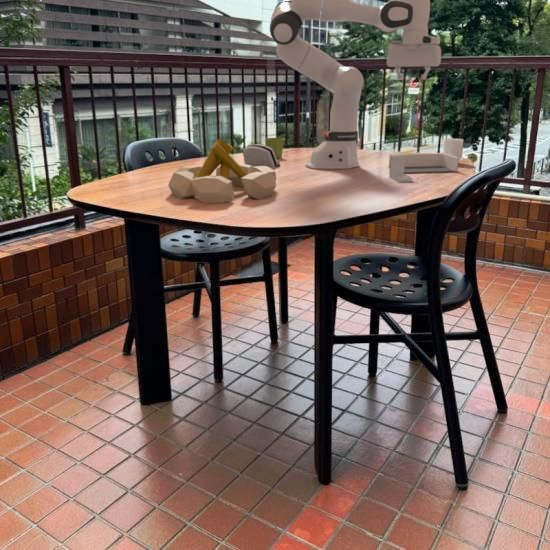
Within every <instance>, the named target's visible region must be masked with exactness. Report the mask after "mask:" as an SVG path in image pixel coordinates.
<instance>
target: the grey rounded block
mask: <svg viewBox="0 0 550 550" xmlns="http://www.w3.org/2000/svg"><path fill="white" fill-rule="evenodd" d="M242 155H243V161H244V162H243V163H244V164H247V165H251V166H267V167H270V168H275V167H281V163H280V161H278V158H276V155H275V153H274V150H273V149H272V148H270V147H268V146H267V145H264V144H261V143H257V144H255V143H254V144H251V145H248V146H246V147H245V148H243V149H242Z"/></svg>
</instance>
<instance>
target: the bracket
mask: <svg viewBox="0 0 550 550" xmlns="http://www.w3.org/2000/svg"><path fill="white" fill-rule="evenodd" d="M404 165H405V156H404V155H398V156H390V169H389V176H388V178H389V179H391V180H393V181H395V182H397V183H413V177H412V176H410V175H408V174H404Z"/></svg>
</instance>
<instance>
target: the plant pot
mask: <svg viewBox="0 0 550 550" xmlns="http://www.w3.org/2000/svg"><path fill="white" fill-rule="evenodd" d="M264 141H265V143H266V146H268V147H270V148H272V149H273V150H274V153H275V155H276V158H277V159H281V158H283V150H284V143H285V141H286V138H285V137H268V138H264Z"/></svg>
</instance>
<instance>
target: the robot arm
mask: <svg viewBox="0 0 550 550" xmlns="http://www.w3.org/2000/svg"><path fill="white" fill-rule="evenodd" d="M430 10H431V0H390V1H388V2H386V3H384V5H382V6H372V5H366V4H361V3H356V2H354V1H353V0H282V1H280V2H278V4H276V6H275V8H274V11H273V12H272V15H271V17H270V25H269V33H270V37H271V38H272V39H273V41H274V42H275V43H277V44H276V52H275V53H276V55H277V57H278V58H279V59H280V60H281V61H282V62H283V63H285V64H286V65H287V66H289V67H290V68H291V69H293V70H295V71H297V72H298V73H300V74H302V75H303V76H305V77H307V78H309V79H311V80H313V81H315V83H317V84H318V85H320V86H321V87H323V88H325V90H327V91H329V92H331V93H333V96H332V97H333V98H332V103H331V109H330V111H329V112H330V117H329V118H330V120H329V131H323V132H322V136H323V137H324V141H322V142H321V143H320V144H319V145H318V146H316V147H315V148H314V149H313V150H312V151H311V155H310V161H306V162H305V167H307V168H309V169H317V170H318V169H320V170H321V169H323V170H326V169H327V170H329V169H333V170H335V169H337V170H338V169H339V170H340V169H343V170H344V169H345V170H346V169H347V170H349V169H352V168H356V167H357V168H358V167H360V163H359V158H358V157H359V156H358V149H357V148H358V147H357V146H358V143H359V140H358V139H359V135H358V134H359V132H358V114H359V113H358V112H359V106H360V100H361V95H362V90H363V86H364V76H363V74H362V72H361V71H360V70H359V69H358V68H356V67H354V66H350V65H349V66H345V65H343V64H341V63H340V62H338V61H337V60H336V59H335V58H333V57H331V55H329V53H327V52H325V51H323V50H321V49H320V48H318V47H317V46H315V45H314V44H312V43H309V42H308V41H306V40H304V39H303V38H302V37H301V36H300V35H299V33H300V30H301V28H302V26H303V22H304V21H305V22H306V21H307V20H309V21H311V20H313V21H318V22H323V23H339V22H352V23H353V22H354V23H359V24H363V25H370V26H373V27H375V28H376V29H378V30H379V31H380V32H382V33H385V34H392V33H394V32H396V31H398V30H399V29H402V30H403V33H402V39H401V40H392V41H391V42H389V43H388V47H387V51H388V53H387V56H386V66H387V67H388V68H389V67H391V68H392V67H393V68H394V72H396V78H397V80H401V81H402V80H403V77H404V75H403V74H401V71H400V70H401V68H403V67H406V68H407V67H409V68H411V67H424V73H423V74H420V80H424V81H425V80H427V76H428V74H429V72H430V71H431V67H439V66H440V65H441V62H442V49H441V46H440V44H441V38H439V37H437V36H433V35H432V34H431V35H430V34H429V28H428V27H429V26H428V23H429V19H430V14H431V13H430V12H431V11H430Z"/></svg>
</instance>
